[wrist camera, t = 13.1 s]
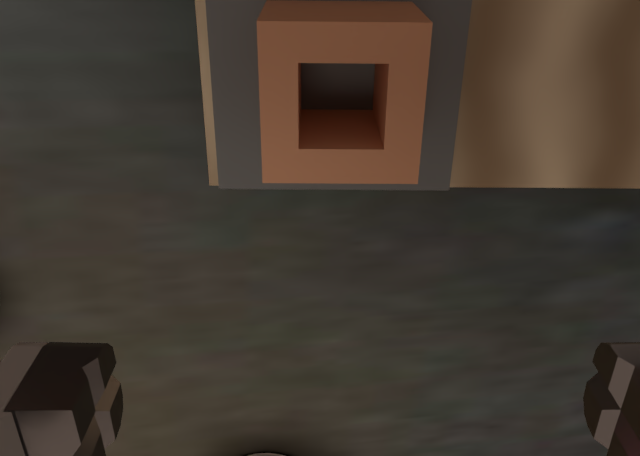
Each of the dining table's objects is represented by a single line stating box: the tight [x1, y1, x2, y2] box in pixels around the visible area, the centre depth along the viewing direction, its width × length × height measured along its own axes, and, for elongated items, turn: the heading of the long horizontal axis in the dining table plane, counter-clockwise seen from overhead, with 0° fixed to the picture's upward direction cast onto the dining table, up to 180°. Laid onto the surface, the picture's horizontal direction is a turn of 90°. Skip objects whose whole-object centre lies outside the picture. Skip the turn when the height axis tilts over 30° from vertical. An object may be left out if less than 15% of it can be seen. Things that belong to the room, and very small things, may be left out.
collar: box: [257, 0, 433, 184], centre depth 24 cm, size 6×6×5 cm
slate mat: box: [205, 0, 472, 191], centre depth 27 cm, size 11×11×1 cm
